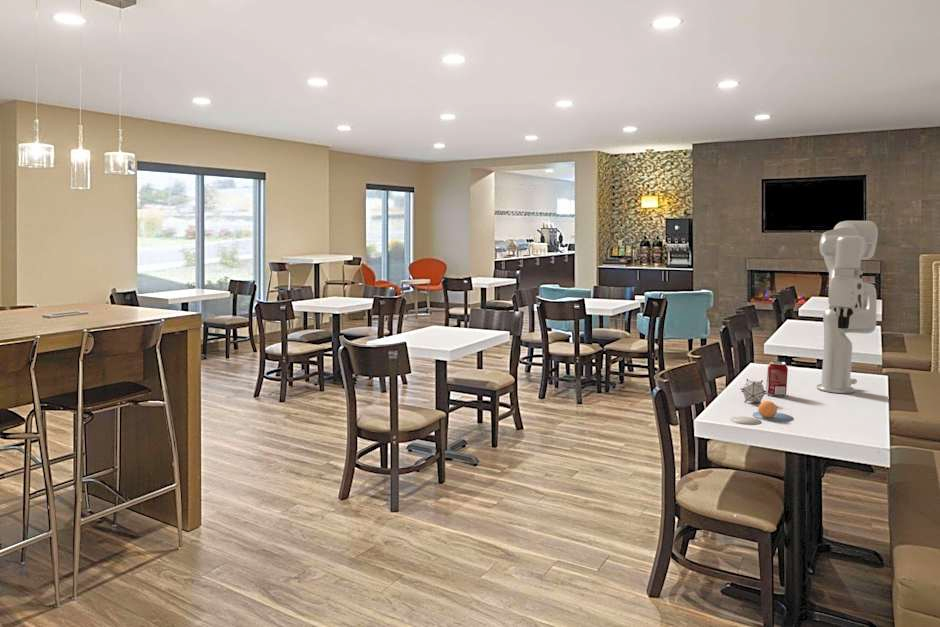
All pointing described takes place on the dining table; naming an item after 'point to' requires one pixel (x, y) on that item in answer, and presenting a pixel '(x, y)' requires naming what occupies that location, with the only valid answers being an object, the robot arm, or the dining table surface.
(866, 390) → the dining table surface
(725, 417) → the dining table surface
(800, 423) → the dining table surface
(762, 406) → the ball
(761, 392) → the game die
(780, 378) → the soda can
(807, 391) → the dining table surface
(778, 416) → the disc
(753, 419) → the far disc
